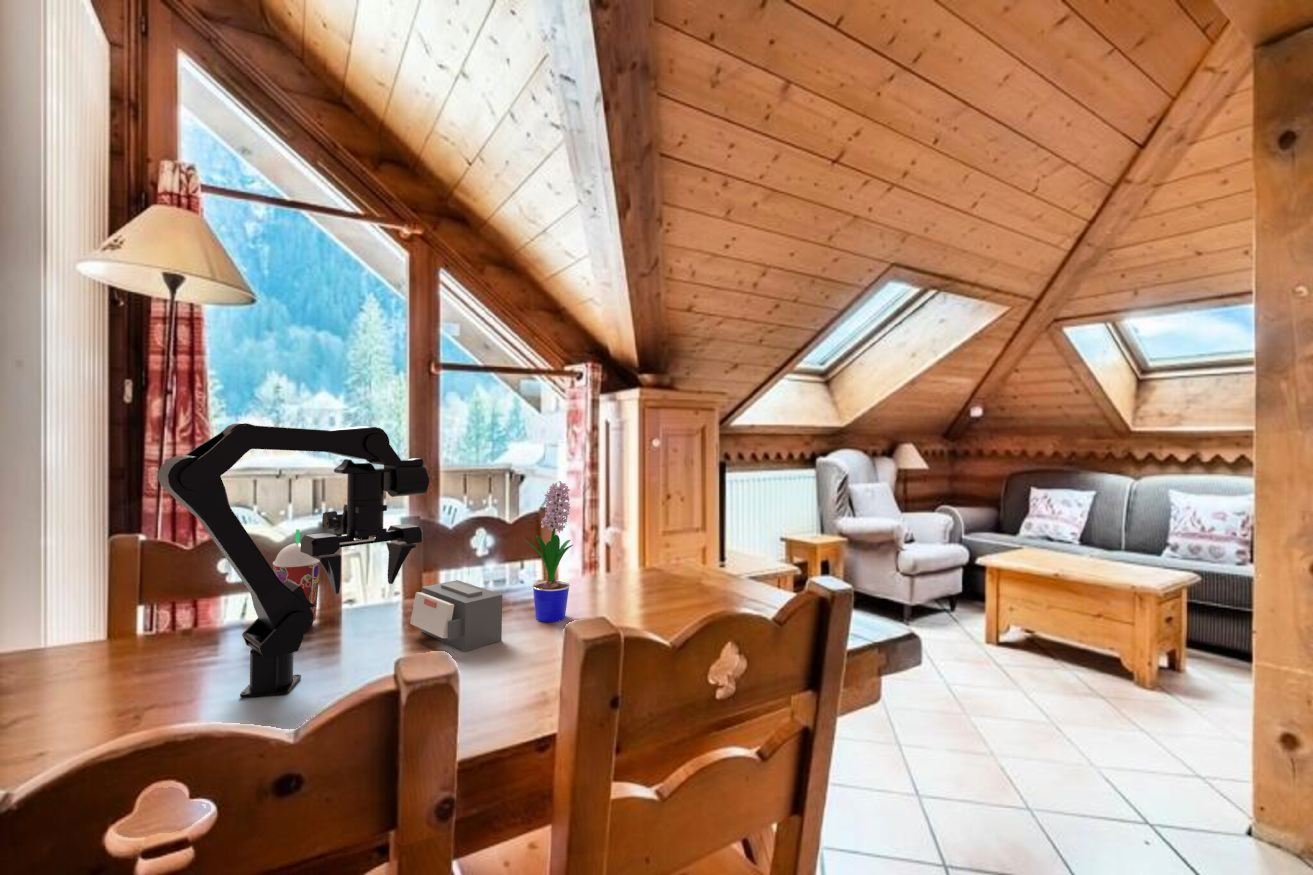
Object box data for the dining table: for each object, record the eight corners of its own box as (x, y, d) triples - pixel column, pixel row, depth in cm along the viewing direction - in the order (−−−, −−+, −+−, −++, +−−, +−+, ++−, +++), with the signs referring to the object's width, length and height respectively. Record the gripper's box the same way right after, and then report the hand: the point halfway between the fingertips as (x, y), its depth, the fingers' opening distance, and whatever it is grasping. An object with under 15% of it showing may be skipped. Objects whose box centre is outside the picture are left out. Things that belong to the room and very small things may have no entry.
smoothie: (328, 622, 125) (330, 527, 125) (301, 636, 117) (302, 533, 117) (291, 620, 126) (292, 525, 126) (261, 633, 118) (263, 532, 117)
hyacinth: (521, 613, 134) (523, 479, 133) (567, 610, 137) (569, 479, 137) (524, 626, 125) (527, 483, 125) (573, 622, 128) (576, 482, 128)
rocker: (441, 638, 109) (447, 604, 110) (408, 623, 117) (414, 592, 117) (448, 637, 110) (454, 604, 111) (415, 623, 118) (421, 592, 119)
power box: (452, 655, 108) (453, 602, 108) (409, 634, 119) (409, 586, 119) (501, 640, 116) (502, 591, 116) (456, 622, 127) (457, 577, 127)
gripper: (396, 491, 116) (394, 571, 116) (288, 498, 102) (287, 589, 102) (425, 496, 109) (424, 581, 109) (314, 504, 95) (313, 603, 95)
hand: (364, 588), depth 104 cm, fingers open, 9 cm apart
